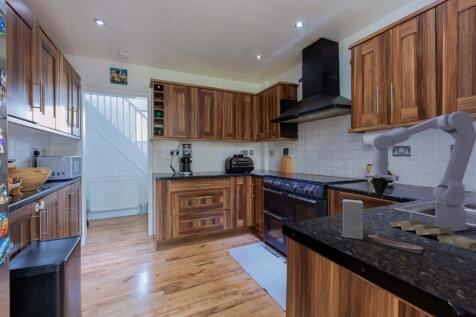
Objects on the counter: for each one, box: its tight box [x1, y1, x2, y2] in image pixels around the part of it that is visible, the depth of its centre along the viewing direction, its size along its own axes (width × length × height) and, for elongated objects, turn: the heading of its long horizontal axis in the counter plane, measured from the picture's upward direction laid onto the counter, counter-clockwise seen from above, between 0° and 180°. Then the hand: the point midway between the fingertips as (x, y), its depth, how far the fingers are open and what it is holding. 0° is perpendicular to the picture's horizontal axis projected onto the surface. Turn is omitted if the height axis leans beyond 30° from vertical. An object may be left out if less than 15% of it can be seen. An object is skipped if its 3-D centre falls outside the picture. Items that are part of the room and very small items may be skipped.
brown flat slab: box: [361, 234, 426, 256], centre depth 68 cm, size 8×1×15 cm
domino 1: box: [389, 219, 422, 228], centre depth 83 cm, size 2×5×8 cm
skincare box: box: [342, 199, 364, 240], centre depth 74 cm, size 6×4×12 cm
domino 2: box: [400, 223, 436, 231], centre depth 79 cm, size 2×5×8 cm
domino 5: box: [438, 239, 476, 253], centre depth 68 cm, size 2×5×8 cm
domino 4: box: [436, 233, 476, 249], centre depth 68 cm, size 2×5×8 cm
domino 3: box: [414, 227, 454, 236], centre depth 74 cm, size 2×5×8 cm
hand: (379, 196), depth 94 cm, fingers closed
